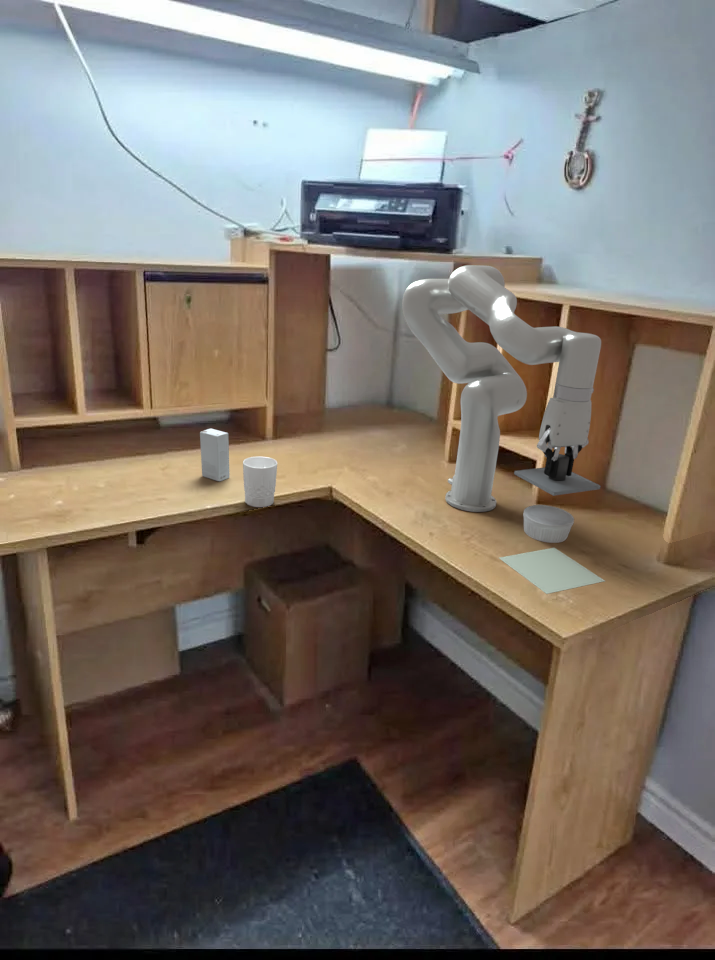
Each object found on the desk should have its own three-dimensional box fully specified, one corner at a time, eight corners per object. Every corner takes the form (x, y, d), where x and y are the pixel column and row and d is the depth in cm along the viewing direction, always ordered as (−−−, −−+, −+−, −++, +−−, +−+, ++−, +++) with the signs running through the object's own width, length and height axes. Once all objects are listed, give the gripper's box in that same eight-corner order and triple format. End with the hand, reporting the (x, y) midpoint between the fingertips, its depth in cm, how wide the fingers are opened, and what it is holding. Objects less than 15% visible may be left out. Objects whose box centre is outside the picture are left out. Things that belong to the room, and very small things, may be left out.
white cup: (266, 511, 153) (266, 470, 149) (236, 504, 155) (236, 463, 152) (282, 499, 160) (283, 460, 156) (253, 492, 162) (253, 454, 159)
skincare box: (230, 477, 170) (230, 432, 166) (218, 482, 167) (218, 436, 162) (212, 471, 173) (211, 427, 169) (200, 476, 169) (199, 431, 165)
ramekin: (531, 547, 145) (535, 525, 144) (512, 525, 156) (516, 504, 154) (578, 546, 147) (583, 525, 145) (557, 524, 158) (561, 504, 156)
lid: (514, 474, 149) (518, 449, 147) (558, 468, 155) (563, 445, 153) (553, 495, 138) (558, 469, 136) (599, 489, 144) (605, 463, 142)
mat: (498, 559, 138) (498, 557, 138) (553, 549, 145) (554, 547, 145) (546, 596, 126) (546, 593, 126) (604, 583, 132) (605, 580, 132)
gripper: (589, 387, 146) (574, 466, 153) (529, 390, 139) (516, 472, 146) (615, 395, 140) (598, 477, 146) (554, 399, 133) (538, 485, 139)
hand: (557, 474), depth 146 cm, fingers closed on lid, 3 cm apart
